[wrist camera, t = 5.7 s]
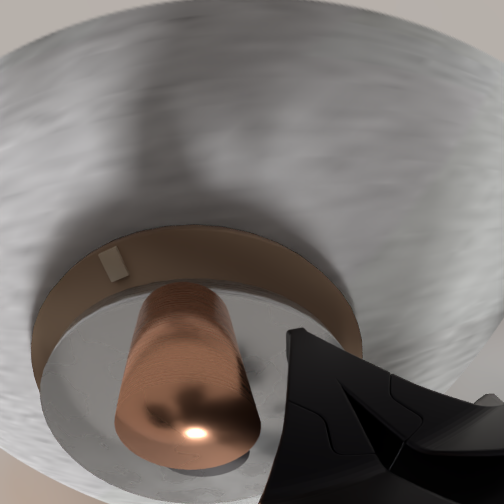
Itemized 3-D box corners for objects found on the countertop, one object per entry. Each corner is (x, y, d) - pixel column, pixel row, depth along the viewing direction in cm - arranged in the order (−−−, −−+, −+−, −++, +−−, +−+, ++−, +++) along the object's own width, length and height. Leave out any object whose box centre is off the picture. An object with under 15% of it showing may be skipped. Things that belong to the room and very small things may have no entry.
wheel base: (302, 467, 19) (306, 478, 18) (69, 455, 15) (66, 467, 14) (396, 255, 14) (409, 262, 13) (25, 200, 10) (12, 205, 9)
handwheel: (318, 459, 17) (352, 531, 11) (105, 476, 14) (100, 554, 8) (362, 248, 12) (480, 320, 6) (14, 267, 9) (-82, 353, 3)
